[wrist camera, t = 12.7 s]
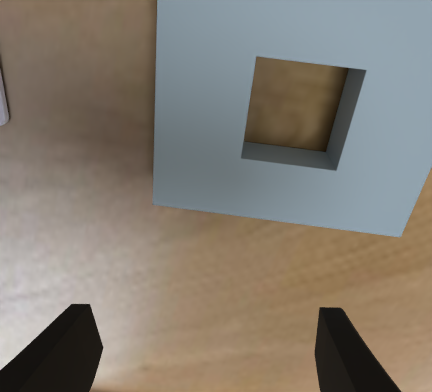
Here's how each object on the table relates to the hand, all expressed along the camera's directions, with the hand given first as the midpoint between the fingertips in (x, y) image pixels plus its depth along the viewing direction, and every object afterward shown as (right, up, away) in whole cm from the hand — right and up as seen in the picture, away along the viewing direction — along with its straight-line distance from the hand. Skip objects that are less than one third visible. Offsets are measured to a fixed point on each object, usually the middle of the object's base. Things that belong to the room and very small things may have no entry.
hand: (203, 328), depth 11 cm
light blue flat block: (+4, +9, +7) cm, 12 cm away
